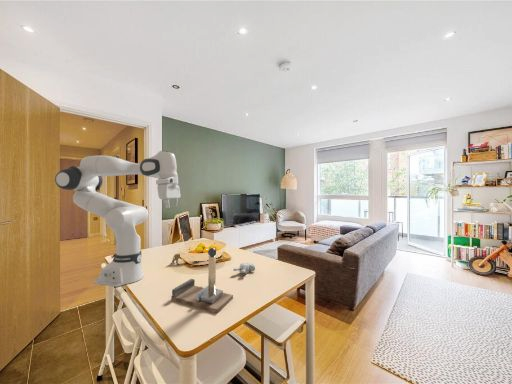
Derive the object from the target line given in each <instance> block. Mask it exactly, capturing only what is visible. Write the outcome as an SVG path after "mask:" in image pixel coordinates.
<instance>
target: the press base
mask: <svg viewBox="0 0 512 384" xmlns="http://www.w3.org/2000/svg"><path fill="white" fill-rule="evenodd" d="M204 288H205V287H203V286H197V285H195V279H194V278H191V279H189V280H187V281H185V282H183V283H181V284H180V285H178V286H175V288H173V289H171V290H172V291H171V293H172V295H171V297H170V298H171V300H172V301H174V302H177V303H182V304H184V305H187V306H191V307H195V308H198V309H202V310H205V311H209V312H212V313H214V314H215V313H216V314H218V313H220V312H221V311H222V310H223V309H224V308H225V307H226V306H227V304H230V302H231V301H232V300H233V299H234V295H233V294H230V293H226V292H223V295H222V296H221V297H219V298H218V299H217V300H216V301H215V302H214V303H212V304H211V303H208V302H204V301H199V302H198V301H196V294H197V293H198V292H200V291H201V290H203V289H204Z"/></svg>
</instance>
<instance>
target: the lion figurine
mask: <svg viewBox="0 0 512 384" xmlns="http://www.w3.org/2000/svg"><path fill="white" fill-rule="evenodd" d="M190 249H191V248H188V250H190ZM180 254H181V253H175V254H174V255H173V258H172V261H171V263H170V265H172V264H176V265H177V266H179V265H180V263H179V259H180V260H183V259H182V258H181V257H180Z"/></svg>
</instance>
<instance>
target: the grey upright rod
mask: <svg viewBox="0 0 512 384" xmlns="http://www.w3.org/2000/svg"><path fill="white" fill-rule="evenodd" d="M207 250H208V253H207V255H208V273H207V274H208V276H207V277H208V282H207V283H208V285H207V286H205V287H203V288H204V289H203V290H201V291H200V292H198V293H197V294H196V301H198V302H199V301H204V302H208V303H211V304H212V303H214V302H215V301H216V300H217V299H218V298H219V297H221V296H222V295H223V293H224V290H222V289H217V288H216V284H217V283H216V276H217V275H216V271H217V269H216V268H217V266H216V265H217V260H216V259H217V257H216V256H215V255H216V247H210V248H209V249H207Z"/></svg>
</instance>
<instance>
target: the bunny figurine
mask: <svg viewBox="0 0 512 384" xmlns="http://www.w3.org/2000/svg"><path fill="white" fill-rule="evenodd" d="M255 270H256V266H255V264H254V263H251V262H246V263H245V262H243V263H240V265H239V267H234V268H233V272H236V271H239V273H241V274H245V275H247V274H249V273H250V272H255Z"/></svg>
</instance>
